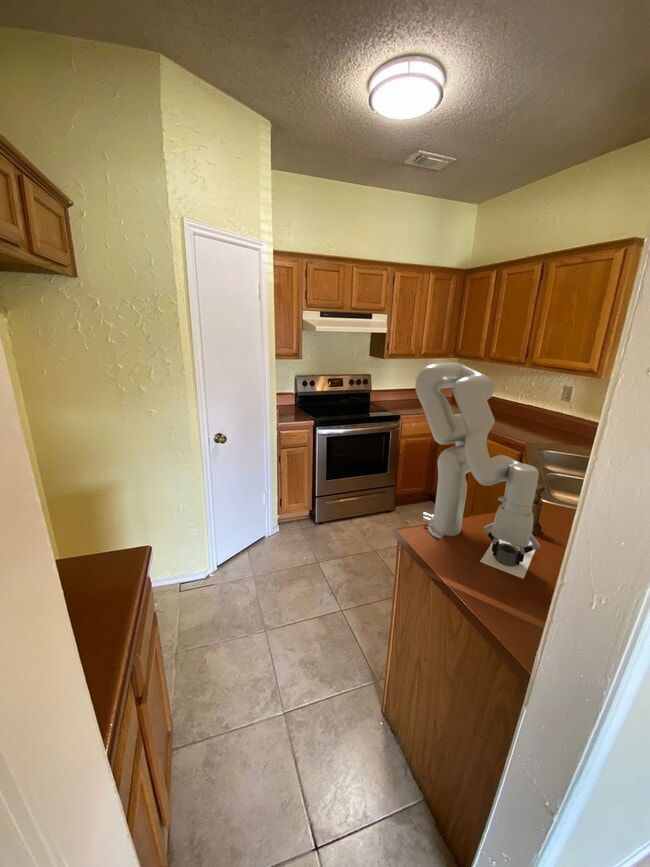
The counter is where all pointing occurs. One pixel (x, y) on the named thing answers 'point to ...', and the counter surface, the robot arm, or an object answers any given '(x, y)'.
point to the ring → (507, 554)
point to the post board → (515, 570)
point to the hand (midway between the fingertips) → (506, 557)
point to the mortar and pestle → (537, 509)
